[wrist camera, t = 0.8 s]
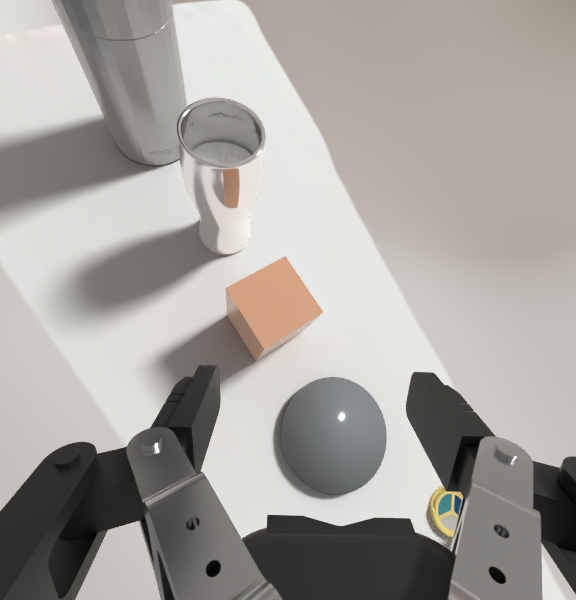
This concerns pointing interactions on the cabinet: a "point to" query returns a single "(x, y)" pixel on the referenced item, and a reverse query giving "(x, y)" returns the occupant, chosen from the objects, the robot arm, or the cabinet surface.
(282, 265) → the peach pillar
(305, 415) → the grey round puck
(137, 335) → the cabinet surface
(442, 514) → the eyeshadow
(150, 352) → the cabinet surface
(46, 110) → the cabinet surface
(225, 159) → the beer glass
